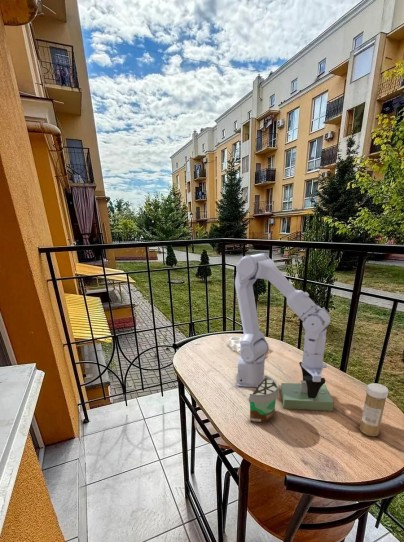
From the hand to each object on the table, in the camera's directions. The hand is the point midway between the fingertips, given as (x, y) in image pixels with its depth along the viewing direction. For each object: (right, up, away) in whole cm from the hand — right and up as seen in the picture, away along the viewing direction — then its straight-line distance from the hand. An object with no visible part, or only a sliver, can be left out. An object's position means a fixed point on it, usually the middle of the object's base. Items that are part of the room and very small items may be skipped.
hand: (309, 390), depth 87 cm
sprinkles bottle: (+11, -8, -13) cm, 19 cm away
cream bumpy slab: (-13, +11, +41) cm, 44 cm away
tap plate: (-1, -3, +1) cm, 4 cm away
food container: (-15, -7, -5) cm, 17 cm away
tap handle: (0, 0, 0) cm, 1 cm away
